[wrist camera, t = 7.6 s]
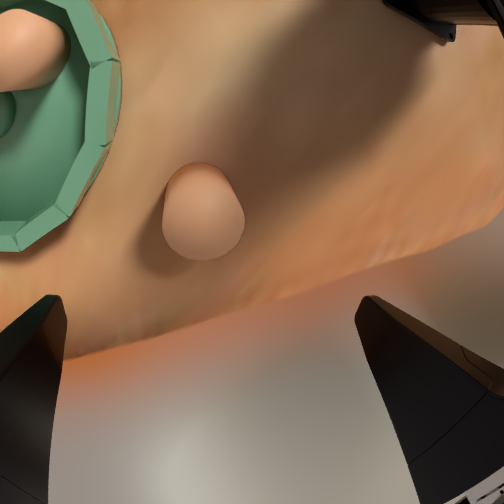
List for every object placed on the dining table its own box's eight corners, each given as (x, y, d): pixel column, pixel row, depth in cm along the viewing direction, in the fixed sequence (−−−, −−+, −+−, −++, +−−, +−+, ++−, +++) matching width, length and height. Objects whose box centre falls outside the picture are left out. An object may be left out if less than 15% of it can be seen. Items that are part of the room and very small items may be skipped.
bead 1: (48, 11, 8) (13, -6, 5) (84, 49, 10) (53, 38, 7) (2, 63, 9) (-40, 63, 5) (35, 102, 11) (-5, 110, 7)
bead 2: (234, 165, 16) (250, 188, 13) (226, 225, 18) (238, 261, 14) (167, 160, 15) (163, 183, 12) (164, 222, 17) (161, 259, 13)
